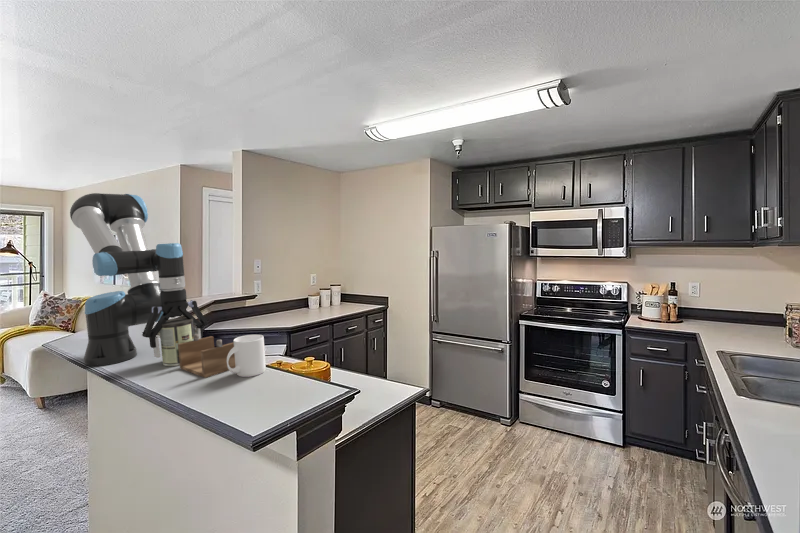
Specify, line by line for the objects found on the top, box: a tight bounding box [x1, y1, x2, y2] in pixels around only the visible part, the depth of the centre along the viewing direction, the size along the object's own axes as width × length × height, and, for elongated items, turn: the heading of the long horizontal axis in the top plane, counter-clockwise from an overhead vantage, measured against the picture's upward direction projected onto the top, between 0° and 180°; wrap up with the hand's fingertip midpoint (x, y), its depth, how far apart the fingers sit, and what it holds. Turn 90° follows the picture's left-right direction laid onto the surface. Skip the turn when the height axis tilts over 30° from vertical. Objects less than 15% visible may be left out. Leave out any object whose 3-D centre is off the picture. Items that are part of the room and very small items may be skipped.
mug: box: [227, 334, 266, 378], centre depth 122 cm, size 9×12×11 cm
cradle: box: [178, 333, 235, 379], centre depth 130 cm, size 16×11×10 cm
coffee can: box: [159, 317, 195, 367], centre depth 137 cm, size 10×10×14 cm
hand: (178, 351), depth 138 cm, fingers open, 13 cm apart
